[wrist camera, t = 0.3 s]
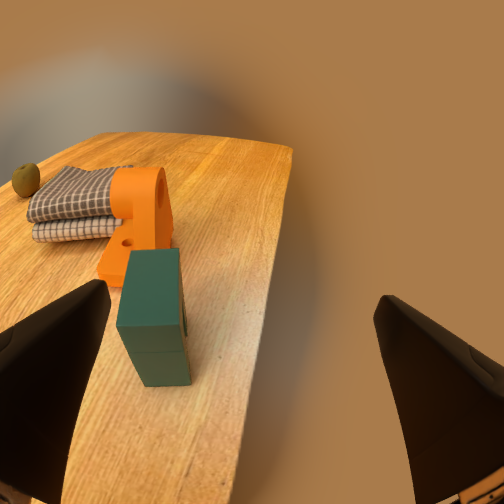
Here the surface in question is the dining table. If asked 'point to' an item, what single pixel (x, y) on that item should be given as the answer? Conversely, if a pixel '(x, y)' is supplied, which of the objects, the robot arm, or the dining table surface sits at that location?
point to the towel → (74, 206)
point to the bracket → (136, 219)
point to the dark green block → (155, 317)
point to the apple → (26, 179)
